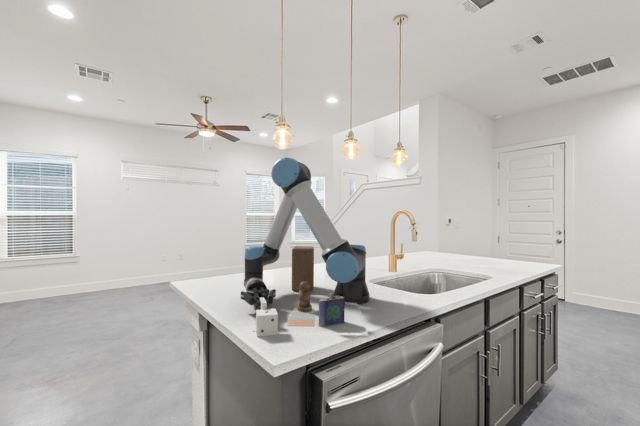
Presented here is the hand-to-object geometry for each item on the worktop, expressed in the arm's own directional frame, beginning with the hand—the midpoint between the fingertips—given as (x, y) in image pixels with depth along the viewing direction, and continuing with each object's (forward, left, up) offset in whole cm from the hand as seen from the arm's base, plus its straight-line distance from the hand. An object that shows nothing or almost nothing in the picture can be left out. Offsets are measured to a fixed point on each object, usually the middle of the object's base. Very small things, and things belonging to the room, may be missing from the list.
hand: (264, 307), depth 94 cm
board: (-12, -9, -6) cm, 16 cm away
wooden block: (-8, -50, -7) cm, 51 cm away
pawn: (-12, -16, -6) cm, 20 cm away
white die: (-1, +3, -6) cm, 7 cm away
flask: (-21, -3, -7) cm, 22 cm away
